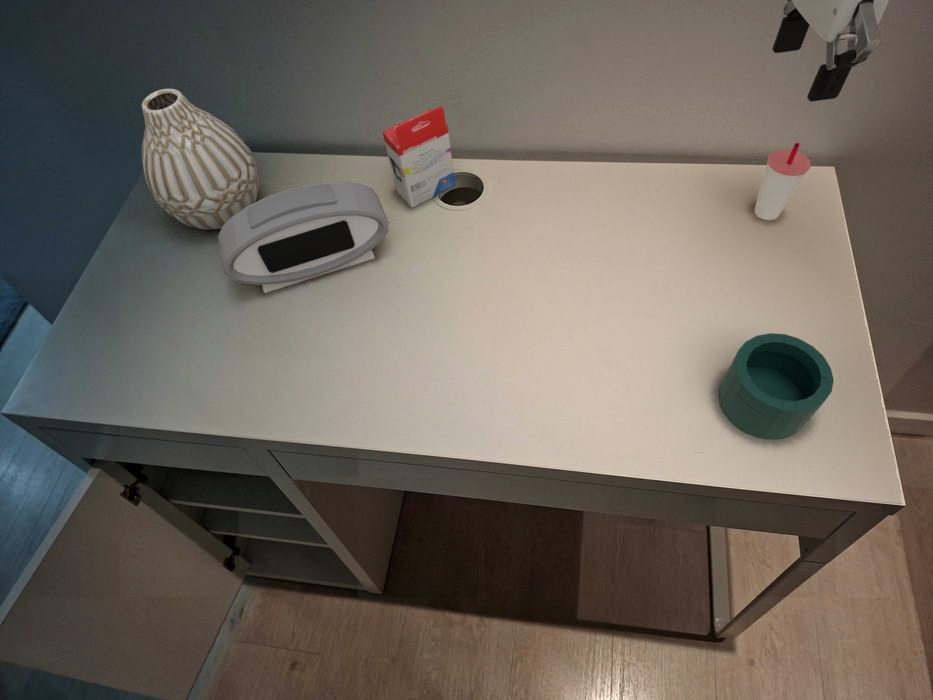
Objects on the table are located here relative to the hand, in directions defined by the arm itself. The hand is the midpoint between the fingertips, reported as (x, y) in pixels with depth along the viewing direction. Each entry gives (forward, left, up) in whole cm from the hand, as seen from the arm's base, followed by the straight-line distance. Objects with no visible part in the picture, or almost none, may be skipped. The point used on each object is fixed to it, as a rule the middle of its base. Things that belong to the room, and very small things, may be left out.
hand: (802, 73), depth 68 cm
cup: (-3, 0, -22) cm, 23 cm away
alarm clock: (+63, -6, -22) cm, 67 cm away
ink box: (+45, -18, -22) cm, 53 cm away
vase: (+78, -22, -22) cm, 84 cm away
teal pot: (+11, +29, -22) cm, 38 cm away
